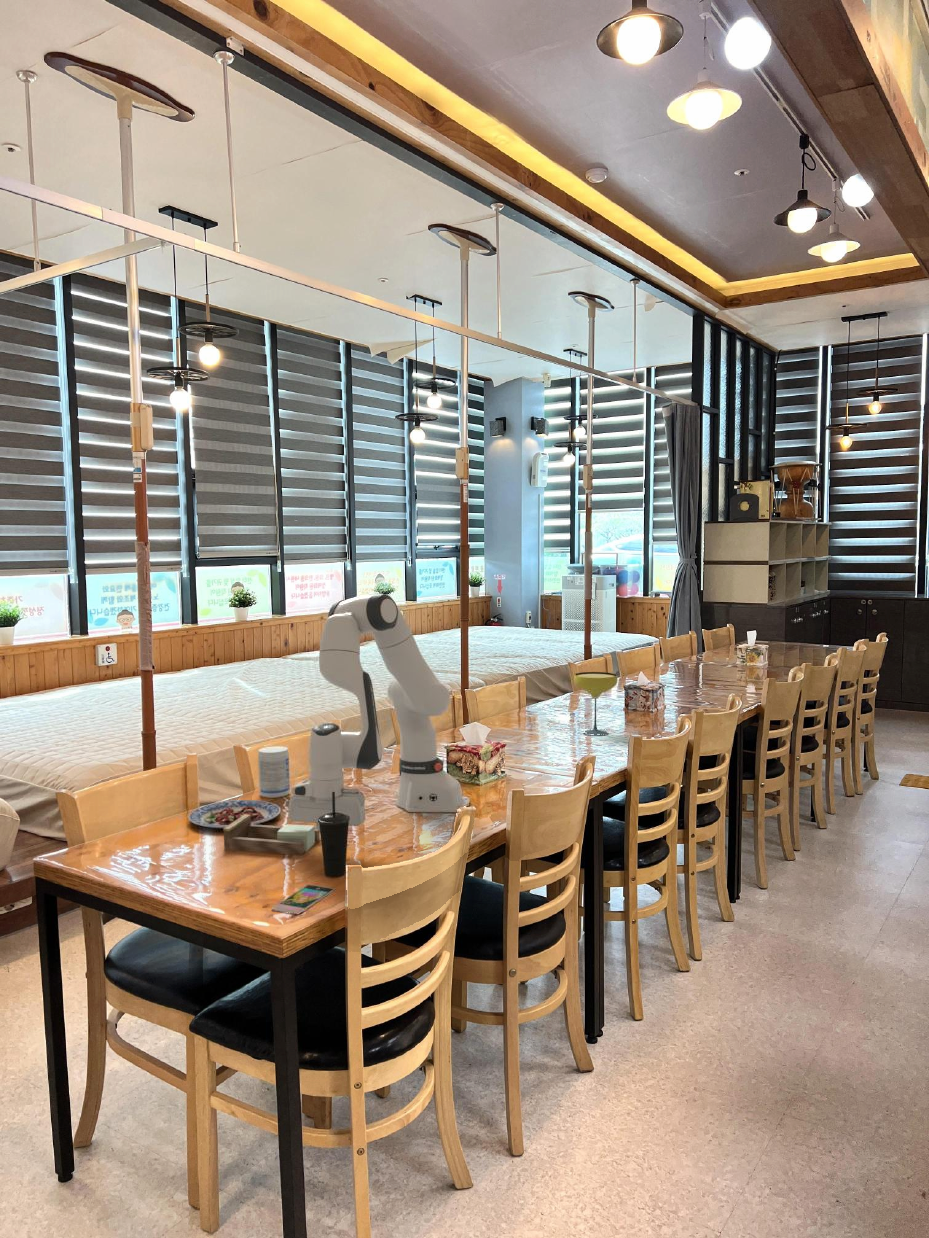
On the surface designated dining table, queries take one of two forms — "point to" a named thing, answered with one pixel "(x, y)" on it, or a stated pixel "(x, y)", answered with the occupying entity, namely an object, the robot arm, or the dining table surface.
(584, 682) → the cocktail glass
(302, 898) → the smartphone
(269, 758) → the supplement tub
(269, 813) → the ceramic plate
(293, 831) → the pale green block
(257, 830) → the bay
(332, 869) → the drinking cup
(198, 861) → the dining table surface
